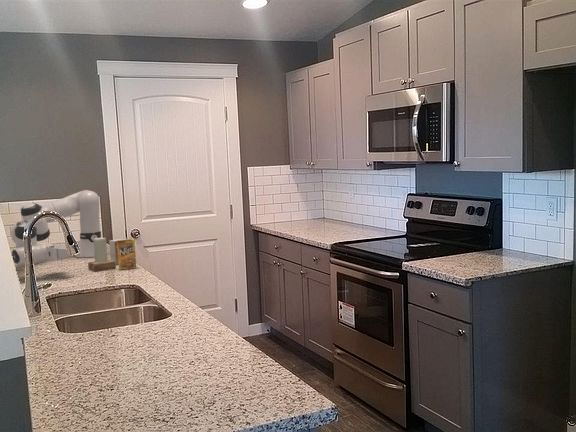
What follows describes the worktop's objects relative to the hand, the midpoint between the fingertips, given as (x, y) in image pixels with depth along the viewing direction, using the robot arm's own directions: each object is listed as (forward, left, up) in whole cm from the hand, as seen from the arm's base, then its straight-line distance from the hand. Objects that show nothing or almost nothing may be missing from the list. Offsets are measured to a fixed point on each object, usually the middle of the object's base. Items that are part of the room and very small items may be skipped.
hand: (76, 248), depth 301 cm
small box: (-8, +25, -13) cm, 29 cm away
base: (0, +12, -13) cm, 17 cm away
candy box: (+10, +22, -13) cm, 27 cm away
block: (0, +12, -9) cm, 15 cm away
